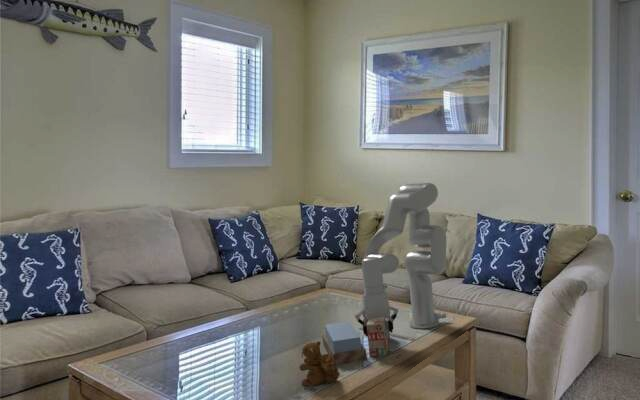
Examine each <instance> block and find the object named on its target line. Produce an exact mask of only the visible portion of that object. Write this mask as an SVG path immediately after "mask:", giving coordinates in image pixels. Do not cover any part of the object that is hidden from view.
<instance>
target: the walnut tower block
mask: <svg viewBox="0 0 640 400" xmlns="http://www.w3.org/2000/svg"><path fill="white" fill-rule="evenodd" d="M321 337H322V343H323V347H324V348H325V350H326V354H331V357H332V358H333V360H334V361H335V363H336V366H337V365H338V366H339V365H343V364H349V363H357V362H363V361H368V358H367V349H366V348H365V347H364V345H363V344H362V343H361V350H354V351H347V352H341V353H334V352H333V349H332V347H331V345H330V343H329V341H328V339H327V337H326V334H323V335H322V336H321Z"/></svg>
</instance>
